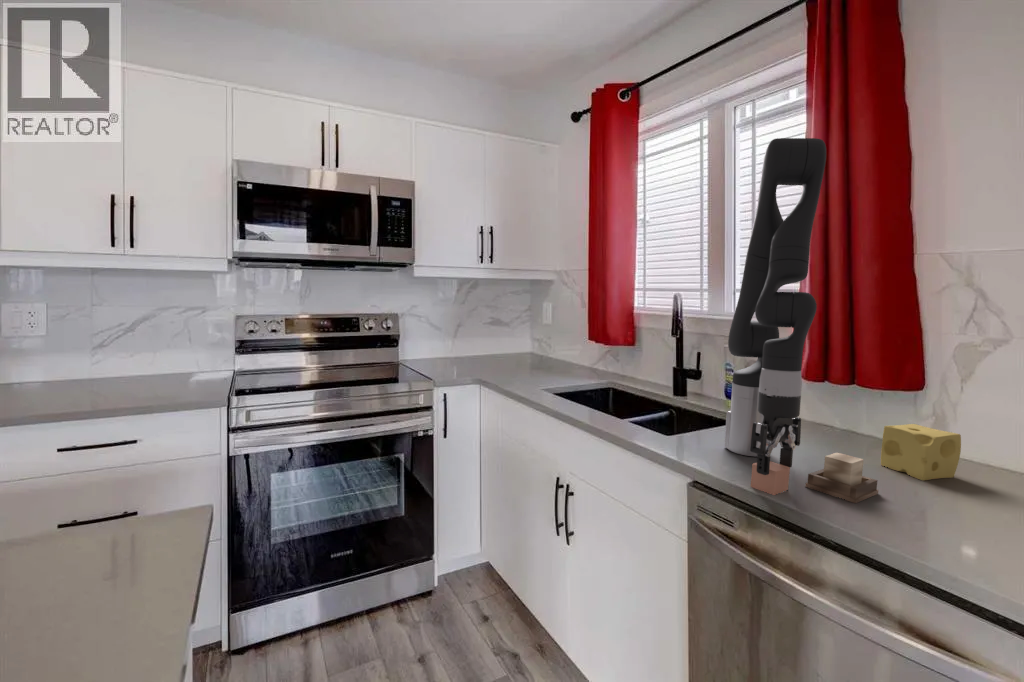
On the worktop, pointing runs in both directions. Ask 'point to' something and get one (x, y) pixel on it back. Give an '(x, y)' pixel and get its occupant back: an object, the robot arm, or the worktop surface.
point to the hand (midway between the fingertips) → (774, 470)
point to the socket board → (842, 487)
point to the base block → (843, 468)
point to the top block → (771, 479)
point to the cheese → (920, 451)
